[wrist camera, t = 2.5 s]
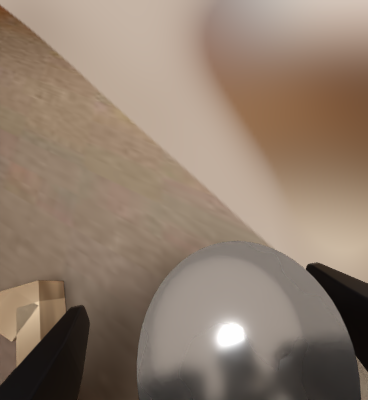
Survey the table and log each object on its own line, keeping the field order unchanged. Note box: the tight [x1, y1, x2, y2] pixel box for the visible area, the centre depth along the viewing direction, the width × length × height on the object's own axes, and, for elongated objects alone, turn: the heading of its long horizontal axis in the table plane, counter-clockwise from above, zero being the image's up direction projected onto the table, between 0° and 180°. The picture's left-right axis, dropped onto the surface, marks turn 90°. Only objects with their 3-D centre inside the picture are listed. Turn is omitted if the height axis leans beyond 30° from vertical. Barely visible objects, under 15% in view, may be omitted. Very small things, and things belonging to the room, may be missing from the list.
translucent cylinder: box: [137, 241, 361, 400], centre depth 9 cm, size 4×4×11 cm
